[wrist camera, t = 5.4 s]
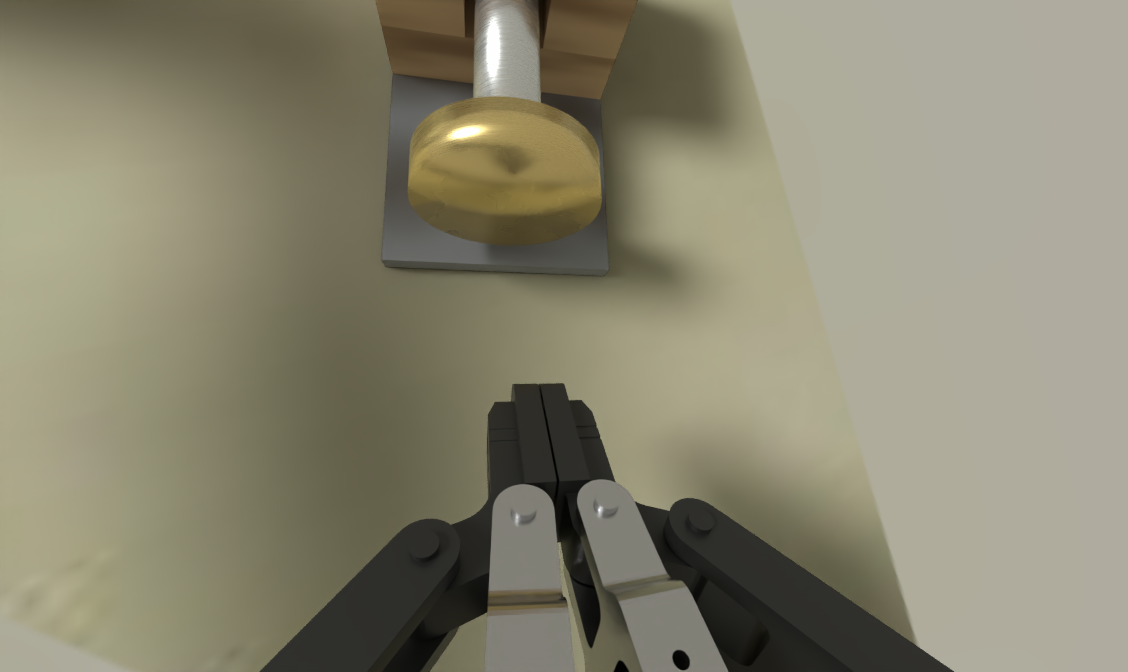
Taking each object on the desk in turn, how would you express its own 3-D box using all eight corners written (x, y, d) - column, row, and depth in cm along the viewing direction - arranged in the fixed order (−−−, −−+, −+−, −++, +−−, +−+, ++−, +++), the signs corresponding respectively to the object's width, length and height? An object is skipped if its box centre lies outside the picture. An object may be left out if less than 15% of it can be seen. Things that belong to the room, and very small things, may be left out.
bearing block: (603, 275, 25) (676, 190, 16) (385, 266, 23) (324, 159, 14) (589, -18, 29) (640, -218, 20) (403, -51, 27) (367, -295, 18)
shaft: (577, 249, 23) (628, 160, 15) (420, 240, 21) (389, 136, 14) (568, -3, 26) (606, -180, 19) (432, -26, 25) (411, -231, 17)
